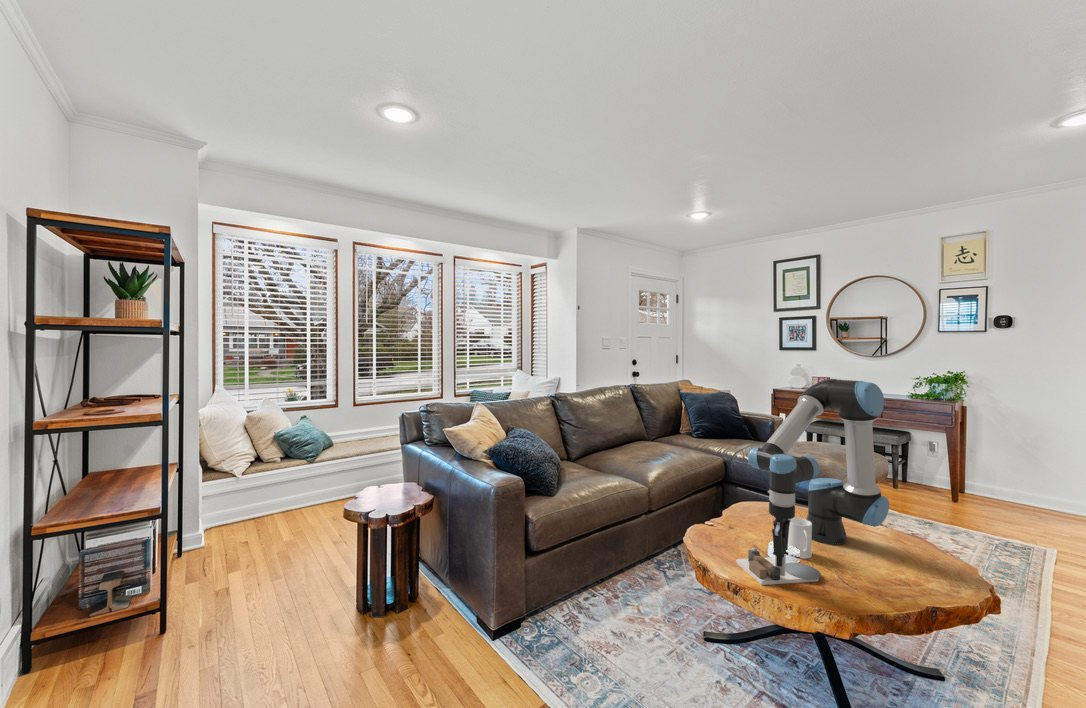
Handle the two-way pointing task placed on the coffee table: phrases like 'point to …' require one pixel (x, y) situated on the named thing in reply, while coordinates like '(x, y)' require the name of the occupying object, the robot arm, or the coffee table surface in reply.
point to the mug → (801, 536)
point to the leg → (765, 564)
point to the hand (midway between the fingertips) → (780, 574)
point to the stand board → (792, 575)
